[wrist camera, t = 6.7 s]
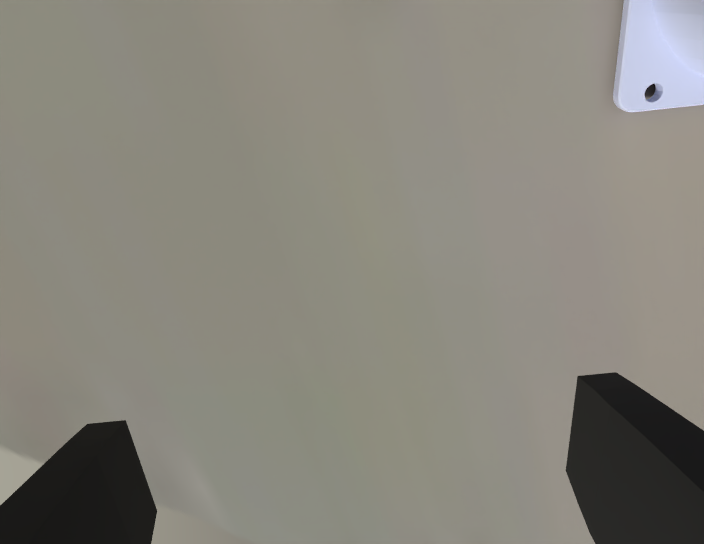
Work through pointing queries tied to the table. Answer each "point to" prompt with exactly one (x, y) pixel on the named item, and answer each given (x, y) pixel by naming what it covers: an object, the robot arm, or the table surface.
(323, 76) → the table surface
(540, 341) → the table surface
